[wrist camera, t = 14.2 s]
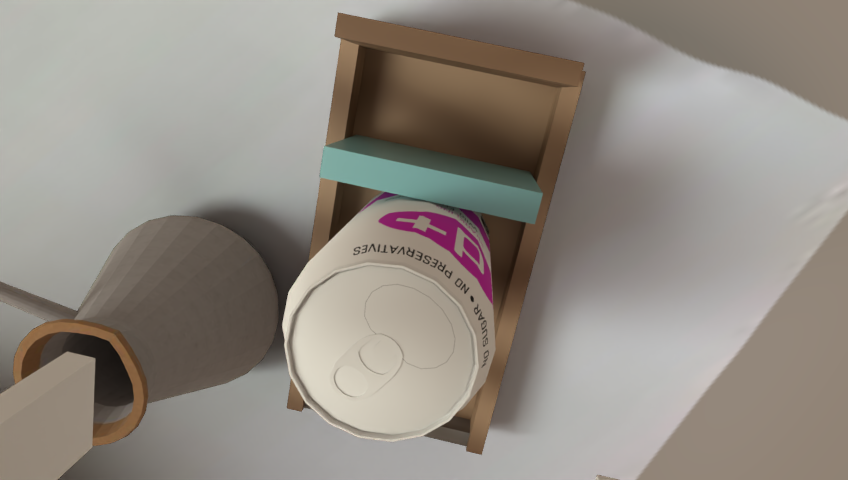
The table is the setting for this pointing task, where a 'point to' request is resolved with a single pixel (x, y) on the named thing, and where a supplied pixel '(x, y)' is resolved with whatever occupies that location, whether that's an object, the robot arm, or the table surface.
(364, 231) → the supplement can
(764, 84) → the table surface
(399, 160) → the plate
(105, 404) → the coffee pot
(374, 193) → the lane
